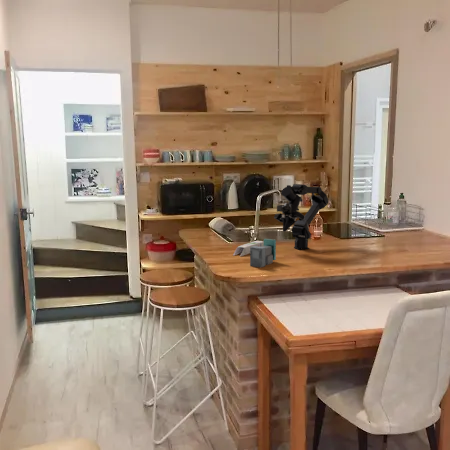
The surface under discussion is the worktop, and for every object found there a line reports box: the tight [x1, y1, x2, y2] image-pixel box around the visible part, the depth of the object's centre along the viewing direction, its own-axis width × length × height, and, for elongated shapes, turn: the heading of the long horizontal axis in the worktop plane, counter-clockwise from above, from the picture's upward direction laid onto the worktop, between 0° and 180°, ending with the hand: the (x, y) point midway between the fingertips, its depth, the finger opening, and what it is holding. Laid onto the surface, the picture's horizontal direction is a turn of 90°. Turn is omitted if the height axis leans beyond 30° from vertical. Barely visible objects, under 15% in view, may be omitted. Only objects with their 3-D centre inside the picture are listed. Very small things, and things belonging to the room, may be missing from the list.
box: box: [232, 240, 264, 257], centre depth 270 cm, size 4×4×28 cm
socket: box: [249, 246, 266, 268], centre depth 238 cm, size 4×6×9 cm, turn 56°
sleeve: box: [262, 246, 274, 266], centre depth 244 cm, size 6×6×8 cm
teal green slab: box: [263, 238, 277, 261], centre depth 243 cm, size 13×6×10 cm, turn 146°
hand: (284, 231), depth 264 cm, fingers closed
